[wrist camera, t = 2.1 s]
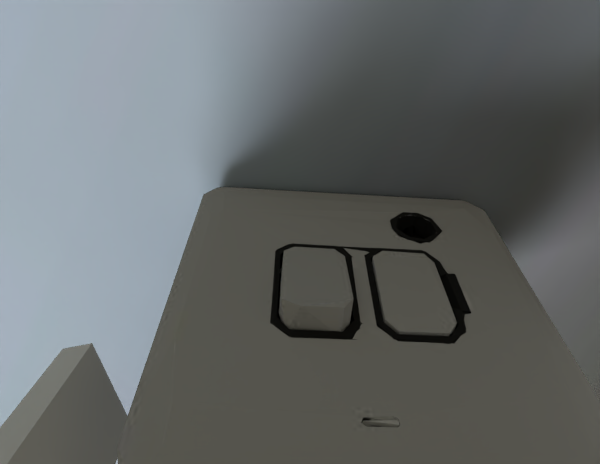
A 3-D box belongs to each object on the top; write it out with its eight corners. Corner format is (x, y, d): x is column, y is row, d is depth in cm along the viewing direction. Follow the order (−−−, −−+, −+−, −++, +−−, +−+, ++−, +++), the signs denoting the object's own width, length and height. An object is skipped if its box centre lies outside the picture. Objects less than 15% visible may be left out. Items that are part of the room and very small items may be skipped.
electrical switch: (477, 197, 15) (717, 430, 6) (445, 316, 17) (587, 602, 9) (206, 181, 14) (78, 405, 6) (210, 305, 17) (123, 590, 8)
